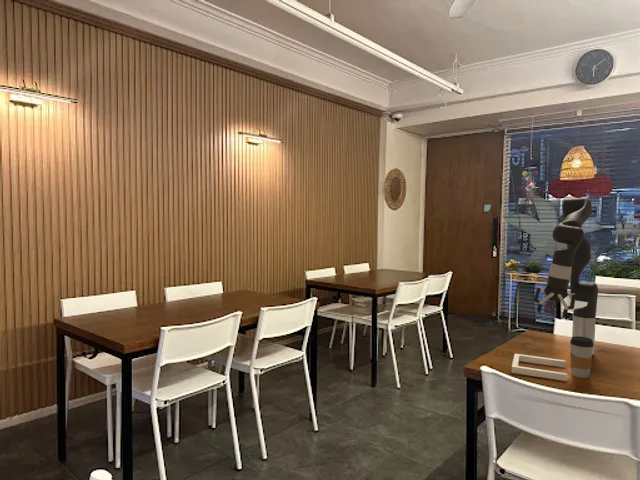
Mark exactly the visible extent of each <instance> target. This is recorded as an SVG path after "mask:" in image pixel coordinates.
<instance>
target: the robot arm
mask: <svg viewBox="0 0 640 480" xmlns="http://www.w3.org/2000/svg"><path fill="white" fill-rule="evenodd" d="M561 205H562V207H561V208H562V209H561V210H562V215H563V221H562V222H560V223H558V224H557V225H556V226H555V227H554V229H553V230H552V240H553V241H555V242H556V243H559V244H565V245H566V248H558V249H556V250H554V252H553V256H552V262H551V264H550V267H549V272H548V276H547V280H546V281H547V282H546V286H545V288H544V287H541V286H540V285H539V286H537V288H536V291H535V295H534V298H533V301H534V302H535V303H537V308H536V311H537V312H538V314H541V312H542V310H543V309H542V307H543V303H545V302H546V301H551V302H556V303H560V302H561V305H562V307H564V308H563V311H562V315H561V319H563V320H564V319H565V318H567V316H568V311H569V310H573V312H572V330H571V332H572V333H571V338H572V337H574V336H579V337H586V338H590V339H592V340H593V343H594V344H595V340H596V339H595V338H596V337H595V336H596V317H597V305H598V297H599V286H598V284H597V283H594V282H586V281H580V276H581V274H582V272H583V271H584V269H586V267H587V266H588V264H589V263H590V261H591V259H592V251H591V244H590V242H589V240H588V239H587V238H586V237H585V233H584V229H583V228H582V227H583V225H584V224H585V223H586V221H588V220H589V218H590V217H591V216H592V210H593V209H592V201H591V200H590V198H588V197H575V198H565V199H564V200H563V201H562V204H561ZM569 286H570V287H569ZM569 288H570V289H569ZM568 290H570V292H568ZM542 293H544V294H545V295H544V296H542V297H541V299H539V295H540V294H542ZM567 297H569V300H570V302H569V303H570V304H569V305H568V304H567V302H566V301H565V299H566V298H567ZM576 302H582V303H587V304H586V305H585V306H583V307H577V308H575V306H576ZM594 354H595V346H594V347H593V352H592V356H593V355H594Z"/></svg>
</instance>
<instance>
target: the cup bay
mask: <svg viewBox="0 0 640 480" xmlns="http://www.w3.org/2000/svg"><path fill="white" fill-rule="evenodd" d="M520 362H524V363H529V364H537V365H538V364H539V365H543V366H544V365H545V366H552V367H558V368H566V365H567V364H566V362H567V361H566V360H565V359H558V358H557V359H556V358H551V357H542V356H536V355H529V354H528V355H527V354H523V353H522V354H521V353H514V355H513V359H512V365H511V374H518V375H524V376H529V377H539V378H544V379H551V380H556V381H563V382H568V373H567V372H560V371H553V370H546V369H540V368H532V367H526V366H520V365H519V364H520Z"/></svg>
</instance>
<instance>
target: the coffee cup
mask: <svg viewBox="0 0 640 480" xmlns="http://www.w3.org/2000/svg"><path fill="white" fill-rule="evenodd" d="M569 343H570V344H569V345H570V367H571V368H570V373H571V374H572V376H574V377H576V378H579V379H588V378H589V377H590V374H591V369H592V359H593V355H592V352H593V347H594V348H595V342H594V343H593V340H592V339H590V338H586V337H579V336H574V337H572V336H571V339H570V342H569Z"/></svg>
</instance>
